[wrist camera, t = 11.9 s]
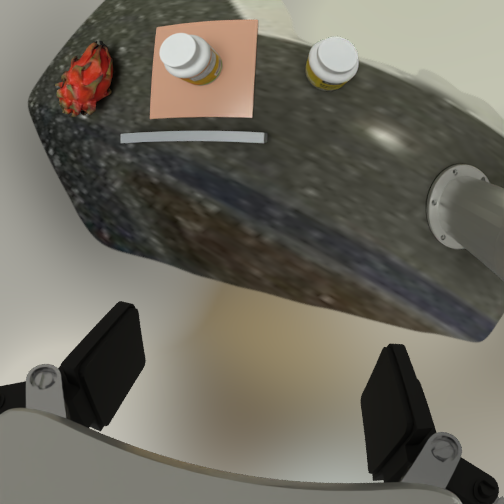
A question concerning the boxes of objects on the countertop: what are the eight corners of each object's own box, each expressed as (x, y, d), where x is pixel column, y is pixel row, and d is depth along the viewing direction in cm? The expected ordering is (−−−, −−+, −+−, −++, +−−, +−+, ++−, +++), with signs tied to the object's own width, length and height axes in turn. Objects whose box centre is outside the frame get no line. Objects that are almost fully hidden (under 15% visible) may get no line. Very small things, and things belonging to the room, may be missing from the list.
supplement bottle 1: (176, 63, 33) (144, 46, 24) (211, 42, 32) (188, 17, 23) (194, 93, 35) (166, 83, 26) (230, 72, 33) (211, 54, 24)
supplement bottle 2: (314, 96, 34) (322, 84, 25) (298, 59, 32) (301, 36, 23) (353, 86, 32) (373, 71, 23) (337, 49, 31) (351, 24, 22)
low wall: (267, 133, 36) (264, 132, 32) (267, 142, 37) (263, 143, 32) (138, 132, 38) (120, 133, 33) (138, 141, 38) (120, 143, 34)
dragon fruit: (88, 121, 39) (120, 54, 36) (103, 129, 35) (141, 52, 32) (42, 108, 33) (76, 36, 30) (49, 114, 28) (90, 29, 25)
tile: (258, 21, 30) (257, 19, 30) (252, 117, 36) (252, 117, 35) (158, 28, 32) (156, 27, 31) (151, 118, 37) (149, 118, 37)
